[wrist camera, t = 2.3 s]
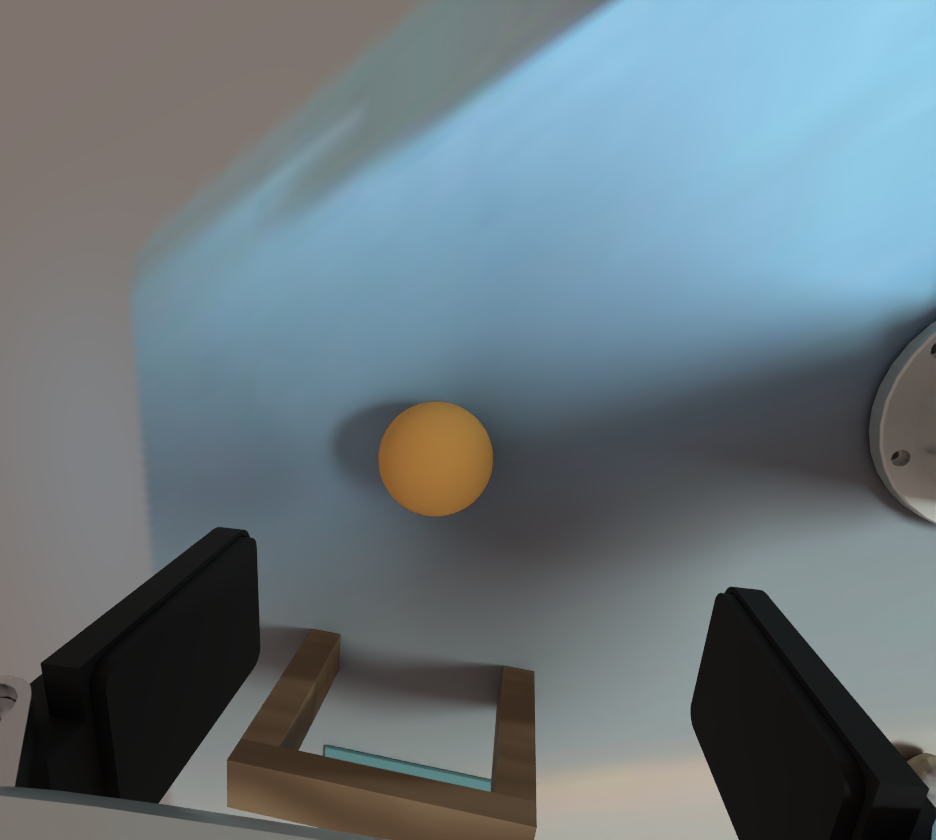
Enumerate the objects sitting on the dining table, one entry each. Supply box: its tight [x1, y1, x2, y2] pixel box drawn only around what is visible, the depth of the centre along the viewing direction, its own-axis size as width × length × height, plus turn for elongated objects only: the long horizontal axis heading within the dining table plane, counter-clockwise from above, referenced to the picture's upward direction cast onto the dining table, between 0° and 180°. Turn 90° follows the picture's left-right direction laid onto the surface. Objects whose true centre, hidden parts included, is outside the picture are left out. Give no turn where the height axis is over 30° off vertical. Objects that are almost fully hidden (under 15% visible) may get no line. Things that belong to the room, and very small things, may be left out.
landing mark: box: [320, 745, 491, 829], centre depth 37 cm, size 12×12×1 cm
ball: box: [378, 401, 493, 516], centre depth 26 cm, size 6×6×6 cm
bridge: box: [227, 629, 537, 840], centre depth 28 cm, size 3×15×10 cm, turn 83°
